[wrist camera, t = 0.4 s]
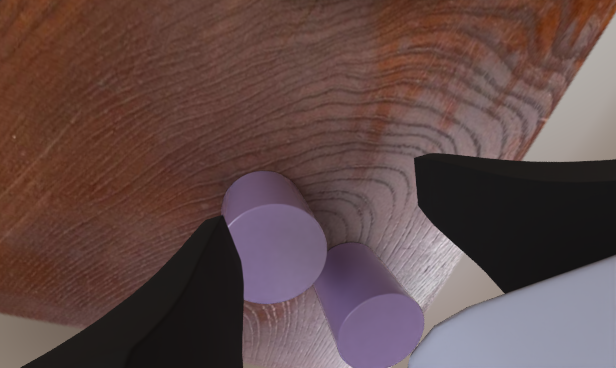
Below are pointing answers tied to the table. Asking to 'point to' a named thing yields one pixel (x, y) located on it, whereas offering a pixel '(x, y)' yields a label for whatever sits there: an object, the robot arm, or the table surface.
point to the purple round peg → (367, 308)
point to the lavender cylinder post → (273, 237)
